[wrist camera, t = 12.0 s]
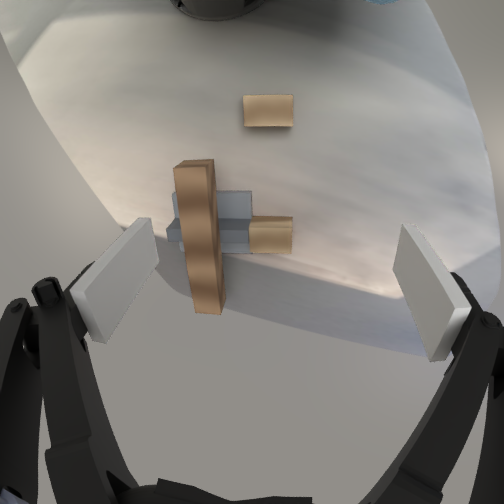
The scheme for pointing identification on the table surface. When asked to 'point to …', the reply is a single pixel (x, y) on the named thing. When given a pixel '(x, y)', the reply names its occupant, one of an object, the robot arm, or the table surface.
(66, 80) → the table surface
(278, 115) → the block
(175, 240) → the fulcrum
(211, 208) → the walnut bar
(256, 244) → the block
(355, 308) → the table surface
